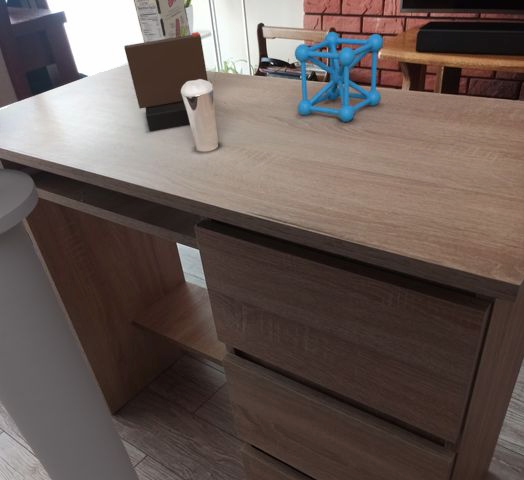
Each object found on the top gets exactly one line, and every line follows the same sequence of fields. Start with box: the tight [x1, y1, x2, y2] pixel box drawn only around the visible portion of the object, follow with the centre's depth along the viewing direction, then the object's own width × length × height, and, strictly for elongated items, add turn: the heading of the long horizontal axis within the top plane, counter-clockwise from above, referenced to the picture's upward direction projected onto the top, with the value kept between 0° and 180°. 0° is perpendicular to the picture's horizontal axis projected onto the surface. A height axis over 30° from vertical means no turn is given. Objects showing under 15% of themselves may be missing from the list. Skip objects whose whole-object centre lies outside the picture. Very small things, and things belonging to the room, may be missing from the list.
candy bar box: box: [133, 0, 191, 43], centre depth 98 cm, size 11×5×16 cm, turn 164°
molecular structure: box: [294, 31, 384, 123], centre depth 80 cm, size 10×10×10 cm
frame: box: [123, 31, 209, 109], centre depth 84 cm, size 12×2×9 cm, turn 102°
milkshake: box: [181, 72, 219, 153], centre depth 73 cm, size 4×5×10 cm
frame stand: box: [145, 101, 190, 132], centre depth 88 cm, size 10×10×2 cm
